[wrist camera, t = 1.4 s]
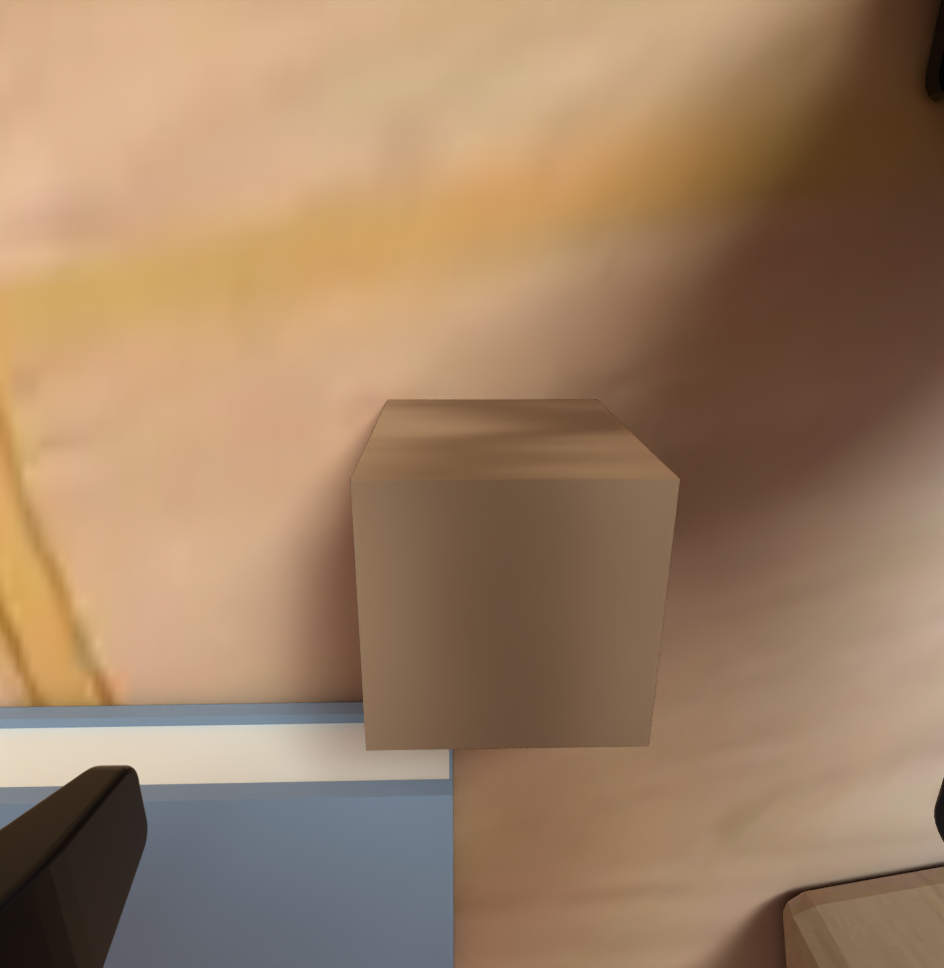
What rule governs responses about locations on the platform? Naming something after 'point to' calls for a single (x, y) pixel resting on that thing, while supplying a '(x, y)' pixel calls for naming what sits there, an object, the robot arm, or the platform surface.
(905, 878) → the wooden block
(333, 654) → the platform surface
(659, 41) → the platform surface
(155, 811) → the book
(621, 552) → the walnut block
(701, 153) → the platform surface
